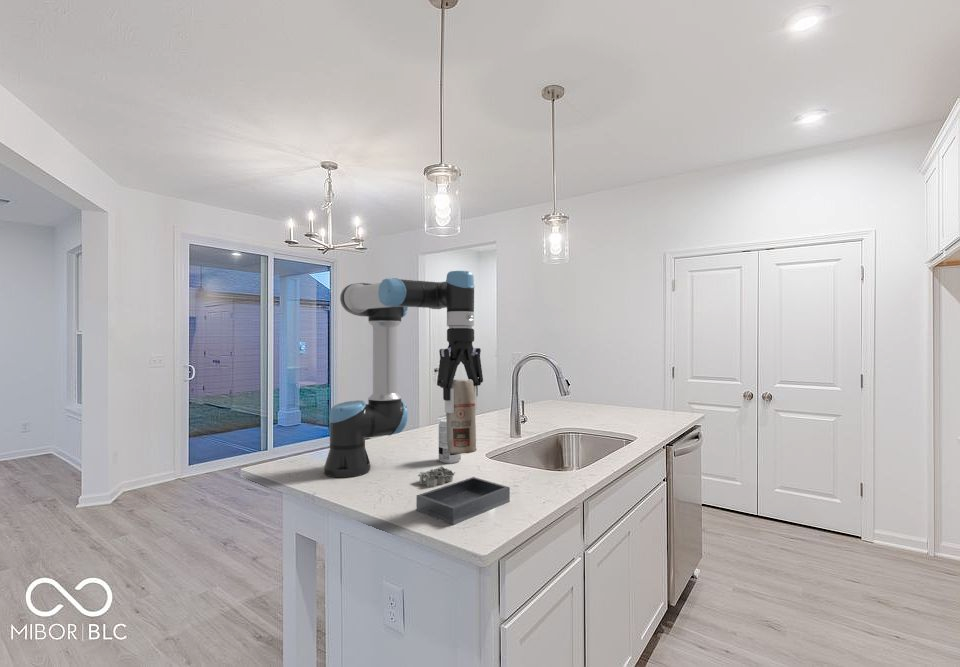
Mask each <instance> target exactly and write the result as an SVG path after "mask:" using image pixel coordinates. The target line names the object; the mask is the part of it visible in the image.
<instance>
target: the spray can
mask: <svg viewBox="0 0 960 667" xmlns="http://www.w3.org/2000/svg"><path fill="white" fill-rule="evenodd" d="M451 388H454V413H447V412H445V417H446V418H445V419H447V445H448V451H447V452H449V453H451V454H461V455H462V454H463V455H464V454H471V453H475V452H476V451H477V449H478V448H477V430H476V429H477V428H476V427H477V425H476V409H475V399H474V398H475V395H474V385H473V381H472V380H471V379H454V380H453V383H452V386H451Z"/></svg>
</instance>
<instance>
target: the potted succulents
mask: <svg viewBox="0 0 960 667" xmlns="http://www.w3.org/2000/svg"><path fill="white" fill-rule="evenodd" d="M455 474H456V472H453V471H452V470H451V469H448V468H447V467H446V468H445V467H444V466H442V465H441V466H439V467H437V468H434V469H433V468H432V469H430V470H427V471H420V472H419V473H418V474H417V477H419V484H420V485H426V487H427V488H436V487H437V486H438V485H445V483H452V482H453V479H454V476H455Z"/></svg>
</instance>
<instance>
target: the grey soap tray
mask: <svg viewBox="0 0 960 667" xmlns="http://www.w3.org/2000/svg"><path fill="white" fill-rule="evenodd" d="M510 488H511V487H510V486H508V485H507V486H506V485H503V484H500V483H496V482H494V481H493V482H492V481H489V480H486V479H482V478H479V477H475V476H472V477H469V478H466V479H462V480H460V481H457V482H454V483H451V484H450V483H449V484H447V485H444V486H441V487H438V488H435V489H432V490H429V491H425V492H423V493H421V494H420V493H419V494H416V503H415V504H416V506H415V507H416V509H415V510H416V511H417V512H418V513H419V512H420V513H421V514H424V515H427V516H429V517H433V518H435V519H437V520H440V521H442V522H444V523H447V524H449V525H452V526H454V525H457V524H459V523H462V522H464V521H466V520H469V519H471V518H474V517H476V516H478V515H481V514H483V513H486V512H488V511H491V510H493V509H495V508H498V507H499V506H503V505H505V504H508V503H510V501H511V500H510V499H511V496H510V493H511V492H510V491H511V490H510Z"/></svg>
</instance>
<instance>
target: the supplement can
mask: <svg viewBox="0 0 960 667" xmlns="http://www.w3.org/2000/svg"><path fill="white" fill-rule="evenodd" d="M447 451H448V445H447V419H446V418H442V419H440V421H439V423H438V460H439V461H440V462H441V463H443V464H455V463H459V462H460V460H461V459H462V454H451V453H449V452H447Z"/></svg>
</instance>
